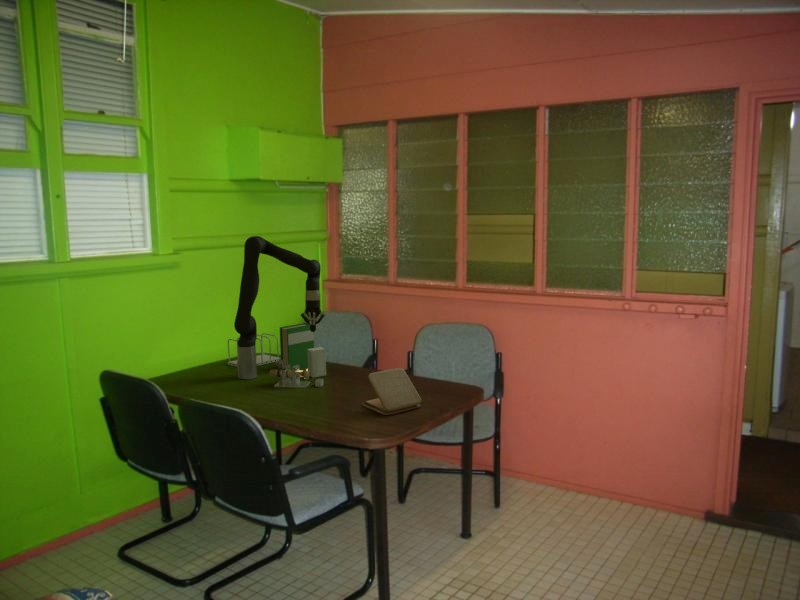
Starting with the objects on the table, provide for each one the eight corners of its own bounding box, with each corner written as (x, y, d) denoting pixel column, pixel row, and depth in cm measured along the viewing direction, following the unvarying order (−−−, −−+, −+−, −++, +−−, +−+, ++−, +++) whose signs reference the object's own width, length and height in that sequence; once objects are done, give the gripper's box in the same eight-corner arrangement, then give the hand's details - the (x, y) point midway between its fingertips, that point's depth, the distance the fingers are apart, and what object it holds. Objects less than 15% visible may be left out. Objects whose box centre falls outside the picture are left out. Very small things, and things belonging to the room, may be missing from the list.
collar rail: (274, 387, 326) (273, 363, 324) (280, 382, 335) (279, 359, 333) (320, 388, 323) (319, 364, 321) (324, 382, 332) (323, 360, 330)
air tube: (269, 379, 327) (268, 369, 326) (272, 377, 333) (272, 366, 332) (306, 380, 325) (306, 369, 324) (309, 377, 330) (309, 367, 329)
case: (386, 417, 277) (385, 380, 275) (359, 405, 294) (359, 370, 292) (423, 408, 289) (423, 373, 287) (396, 397, 306) (395, 364, 304)
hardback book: (289, 372, 355) (287, 328, 352) (281, 369, 360) (279, 327, 357) (314, 366, 368) (313, 324, 365) (306, 364, 373) (305, 322, 370)
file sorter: (263, 357, 393) (262, 331, 391) (281, 361, 381) (279, 335, 379) (227, 364, 375) (225, 338, 373) (244, 369, 363) (243, 342, 361)
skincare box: (322, 373, 351) (321, 346, 349) (326, 375, 346) (325, 348, 344) (307, 375, 347) (306, 348, 345) (312, 378, 342) (311, 350, 340)
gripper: (298, 299, 332) (298, 332, 334) (323, 300, 330) (323, 333, 332) (302, 297, 339) (302, 329, 342) (327, 298, 337) (327, 330, 340)
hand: (313, 331), depth 337 cm, fingers closed
